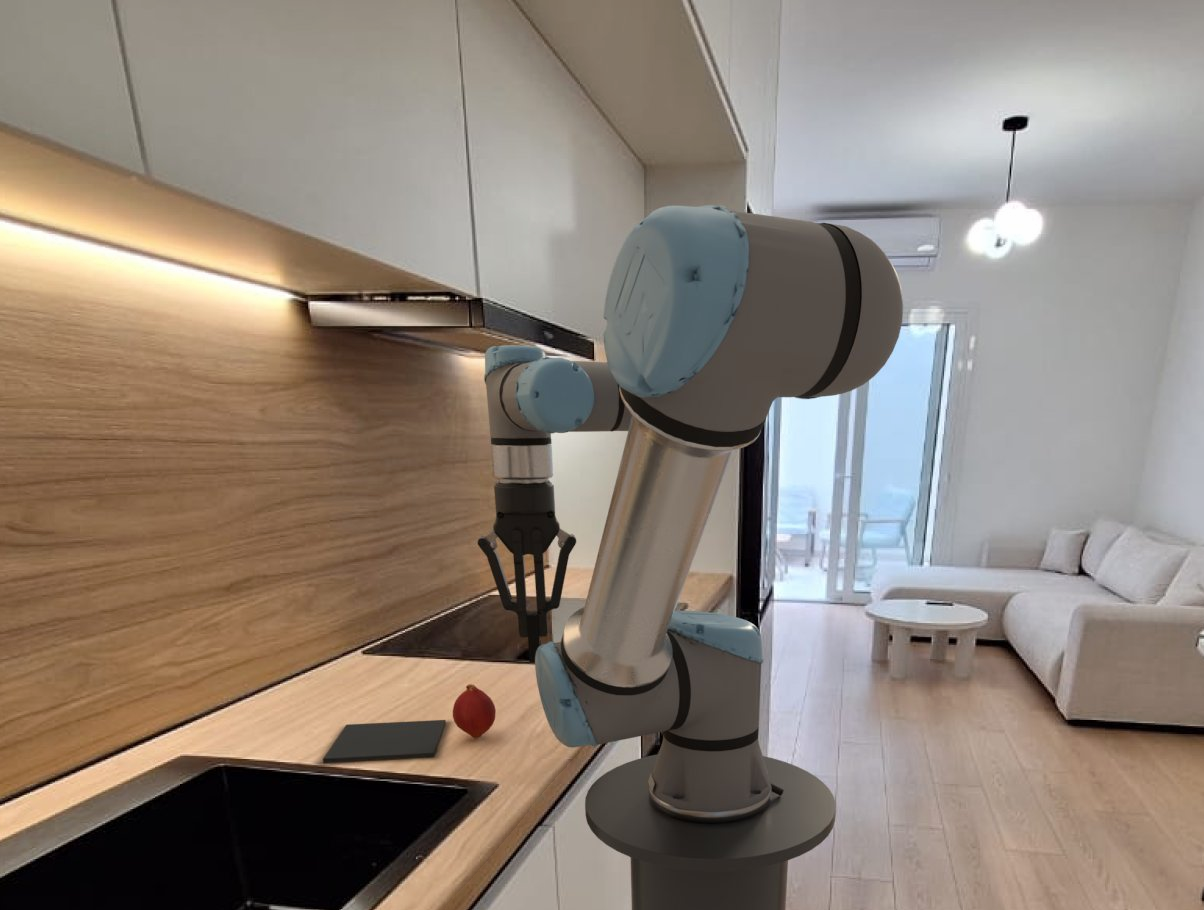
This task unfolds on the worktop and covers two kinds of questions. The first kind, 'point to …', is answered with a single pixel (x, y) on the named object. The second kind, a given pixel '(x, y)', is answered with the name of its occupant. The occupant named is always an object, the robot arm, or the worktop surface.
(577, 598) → the worktop surface
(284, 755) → the worktop surface
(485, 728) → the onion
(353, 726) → the mat
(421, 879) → the worktop surface
